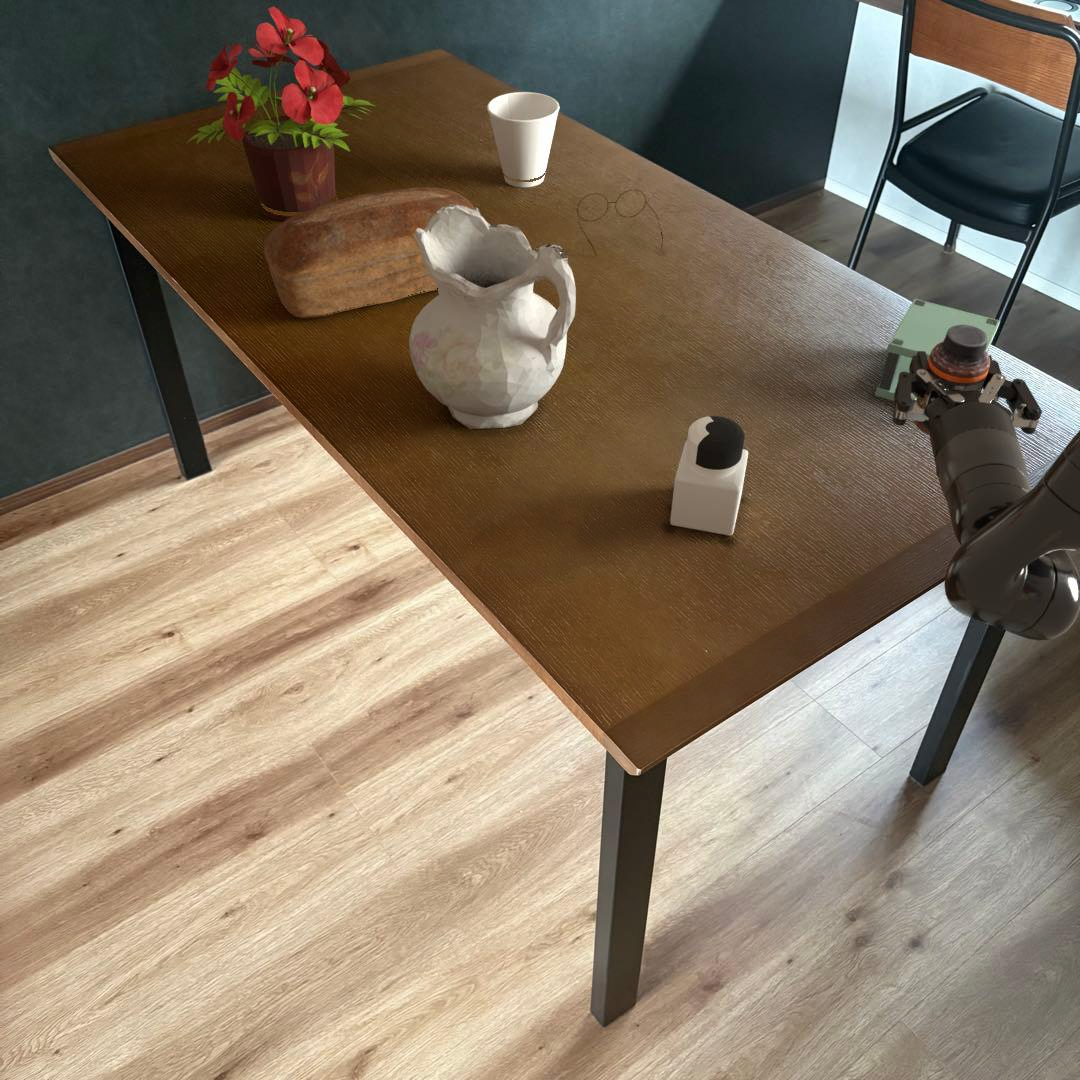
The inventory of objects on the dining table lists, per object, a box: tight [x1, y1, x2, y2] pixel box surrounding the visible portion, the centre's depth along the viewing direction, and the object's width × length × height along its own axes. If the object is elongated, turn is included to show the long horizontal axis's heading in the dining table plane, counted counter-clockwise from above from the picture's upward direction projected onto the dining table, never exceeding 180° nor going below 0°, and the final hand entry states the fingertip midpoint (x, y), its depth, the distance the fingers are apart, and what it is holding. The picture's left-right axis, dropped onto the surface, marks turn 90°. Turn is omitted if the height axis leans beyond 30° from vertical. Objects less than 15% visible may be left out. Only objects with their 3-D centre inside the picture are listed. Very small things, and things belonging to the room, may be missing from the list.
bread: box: [263, 186, 476, 320], centre depth 154 cm, size 12×31×14 cm, turn 114°
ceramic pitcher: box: [408, 204, 577, 430], centre depth 130 cm, size 22×20×25 cm
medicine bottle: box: [669, 415, 749, 537], centre depth 120 cm, size 7×7×12 cm
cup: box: [486, 91, 561, 188], centre depth 180 cm, size 12×12×12 cm
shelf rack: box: [874, 298, 1001, 402], centre depth 138 cm, size 11×12×8 cm
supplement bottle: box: [913, 325, 990, 436], centre depth 112 cm, size 6×6×11 cm
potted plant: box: [186, 6, 378, 222], centre depth 169 cm, size 30×27×30 cm
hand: (951, 360), depth 113 cm, fingers closed on supplement bottle, 6 cm apart
